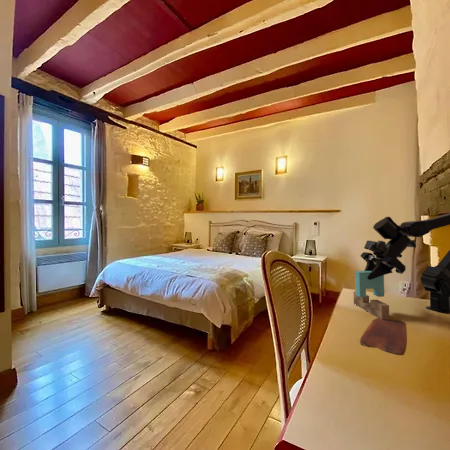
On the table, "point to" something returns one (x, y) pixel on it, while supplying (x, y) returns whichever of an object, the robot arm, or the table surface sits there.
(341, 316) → the table surface
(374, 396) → the table surface
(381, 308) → the walnut notched bar
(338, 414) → the table surface
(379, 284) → the teal flat block
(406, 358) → the table surface
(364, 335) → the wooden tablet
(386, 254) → the robot arm
